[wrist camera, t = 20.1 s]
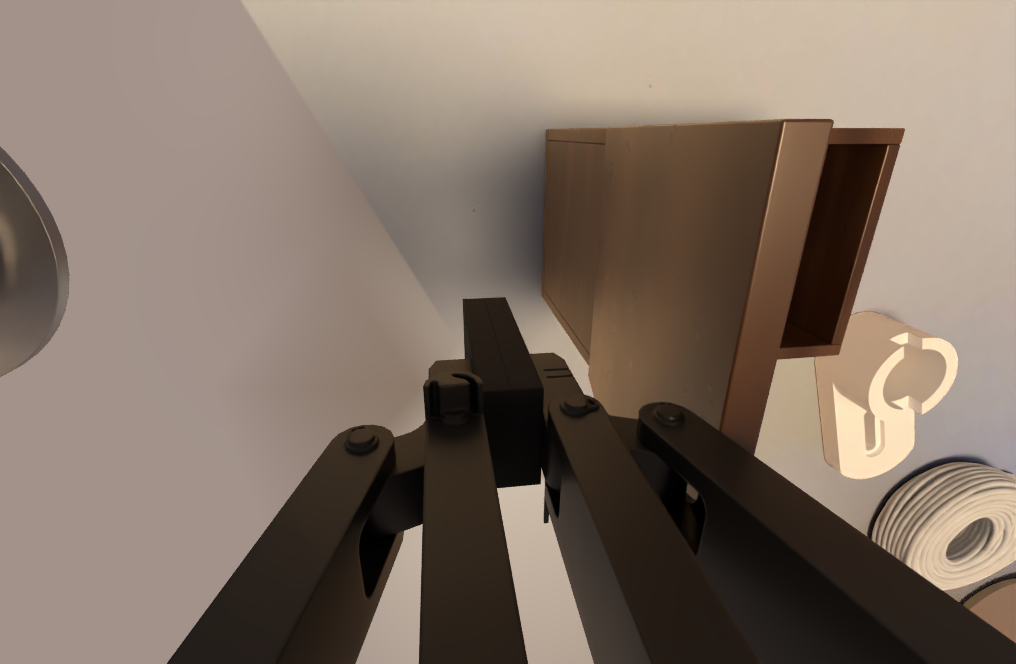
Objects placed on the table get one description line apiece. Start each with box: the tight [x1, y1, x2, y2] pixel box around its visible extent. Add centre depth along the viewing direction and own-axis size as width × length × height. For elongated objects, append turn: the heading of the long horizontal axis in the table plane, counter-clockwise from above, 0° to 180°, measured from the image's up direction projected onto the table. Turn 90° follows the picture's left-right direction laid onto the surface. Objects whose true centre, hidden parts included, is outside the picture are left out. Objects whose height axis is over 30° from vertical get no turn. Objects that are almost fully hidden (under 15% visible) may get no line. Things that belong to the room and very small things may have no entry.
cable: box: [872, 462, 1016, 590], centre depth 59 cm, size 18×18×6 cm
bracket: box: [815, 312, 958, 479], centre depth 49 cm, size 20×9×7 cm, turn 20°
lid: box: [588, 119, 834, 500], centre depth 18 cm, size 17×14×1 cm
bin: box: [542, 128, 905, 365], centre depth 34 cm, size 17×14×15 cm
